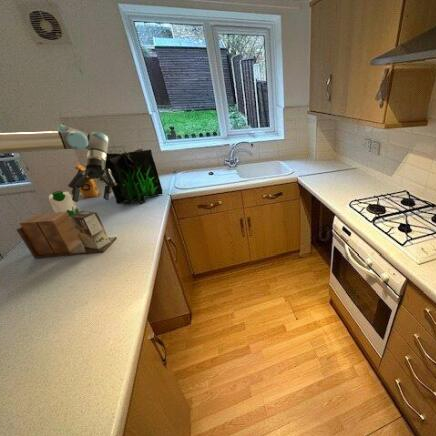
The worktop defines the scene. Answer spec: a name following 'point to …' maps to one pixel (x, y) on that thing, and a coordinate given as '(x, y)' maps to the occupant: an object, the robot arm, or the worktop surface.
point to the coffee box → (89, 229)
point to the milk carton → (63, 202)
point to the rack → (54, 236)
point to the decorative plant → (133, 175)
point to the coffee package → (88, 186)
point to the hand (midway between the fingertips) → (90, 200)
